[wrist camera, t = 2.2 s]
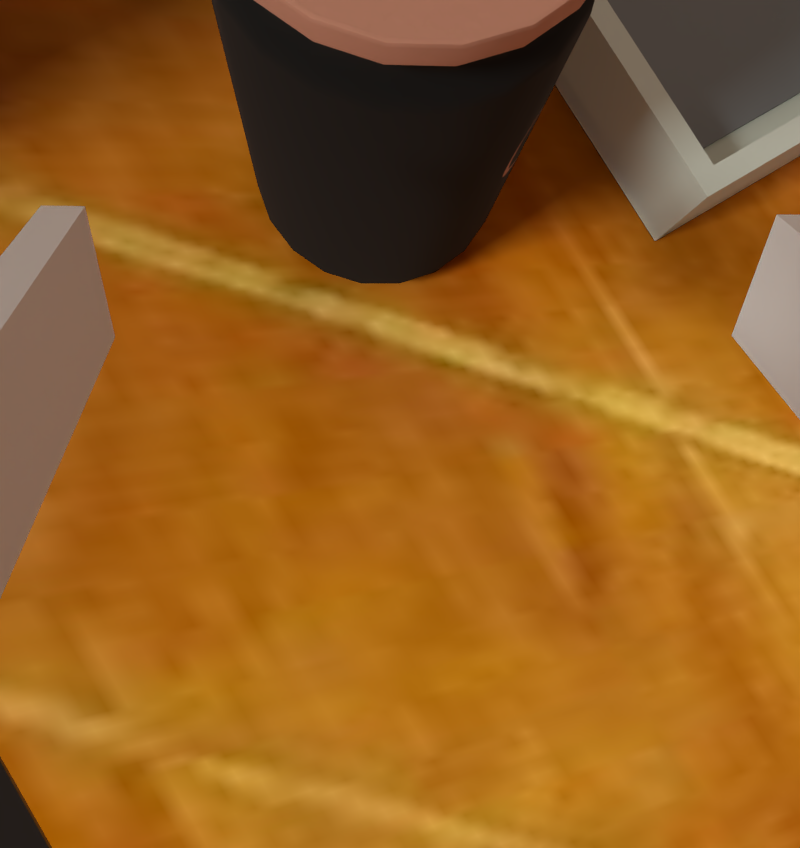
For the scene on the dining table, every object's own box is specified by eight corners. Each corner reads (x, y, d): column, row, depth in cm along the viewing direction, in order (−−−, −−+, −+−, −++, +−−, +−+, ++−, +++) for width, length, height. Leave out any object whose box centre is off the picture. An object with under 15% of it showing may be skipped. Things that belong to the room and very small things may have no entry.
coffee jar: (510, 273, 34) (698, 16, 16) (280, 310, 33) (211, 77, 15) (465, 59, 35) (597, -406, 17) (241, 87, 34) (134, -377, 16)
